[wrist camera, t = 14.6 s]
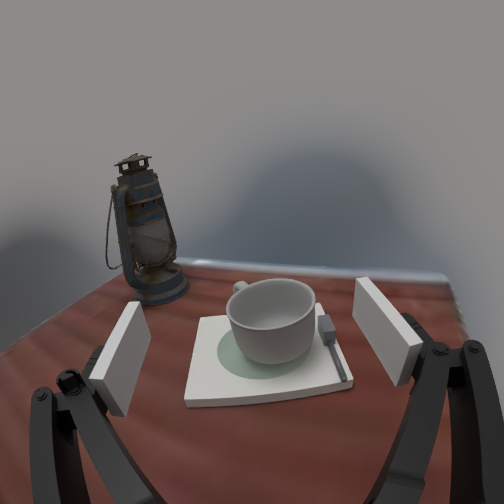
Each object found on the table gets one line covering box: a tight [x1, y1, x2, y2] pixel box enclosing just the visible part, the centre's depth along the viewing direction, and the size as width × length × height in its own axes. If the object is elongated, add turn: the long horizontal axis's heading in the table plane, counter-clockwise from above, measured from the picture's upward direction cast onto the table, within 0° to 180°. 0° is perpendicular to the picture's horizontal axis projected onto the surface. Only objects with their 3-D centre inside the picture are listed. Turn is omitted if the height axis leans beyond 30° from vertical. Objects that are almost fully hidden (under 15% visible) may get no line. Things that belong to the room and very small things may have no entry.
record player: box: [184, 303, 353, 407], centre depth 38 cm, size 20×18×4 cm
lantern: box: [106, 153, 189, 305], centre depth 56 cm, size 19×14×30 cm
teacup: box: [226, 279, 316, 364], centre depth 37 cm, size 14×11×8 cm
